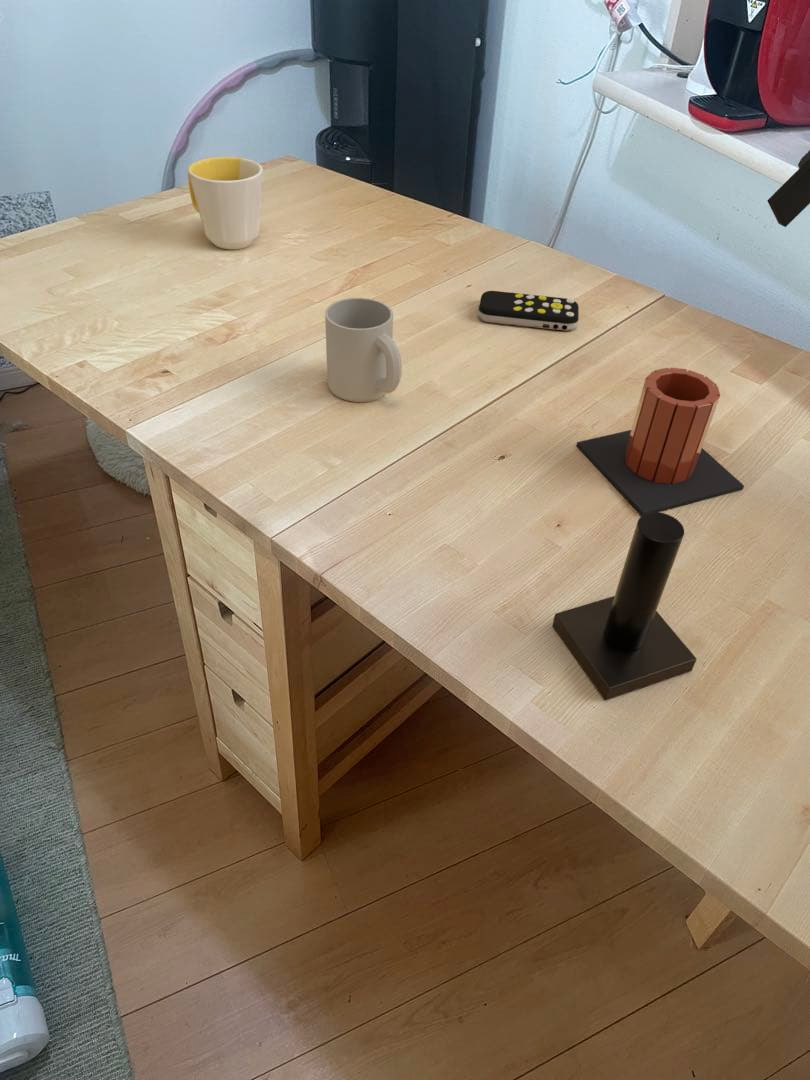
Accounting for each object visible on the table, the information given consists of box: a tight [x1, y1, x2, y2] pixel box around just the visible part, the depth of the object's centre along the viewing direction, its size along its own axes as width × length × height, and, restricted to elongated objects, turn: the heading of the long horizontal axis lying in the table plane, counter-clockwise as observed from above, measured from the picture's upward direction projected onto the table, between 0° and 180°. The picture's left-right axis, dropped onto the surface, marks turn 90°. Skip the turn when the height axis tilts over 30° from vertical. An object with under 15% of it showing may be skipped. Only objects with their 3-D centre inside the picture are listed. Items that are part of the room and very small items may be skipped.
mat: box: [576, 429, 745, 517], centre depth 83 cm, size 12×12×1 cm
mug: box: [187, 156, 264, 250], centre depth 117 cm, size 14×10×10 cm
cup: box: [324, 297, 403, 403], centre depth 88 cm, size 7×10×9 cm
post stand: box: [552, 512, 698, 701], centre depth 60 cm, size 8×8×13 cm
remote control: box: [477, 290, 580, 332], centre depth 105 cm, size 6×13×2 cm, turn 81°
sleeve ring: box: [625, 367, 721, 484], centre depth 79 cm, size 7×7×9 cm
